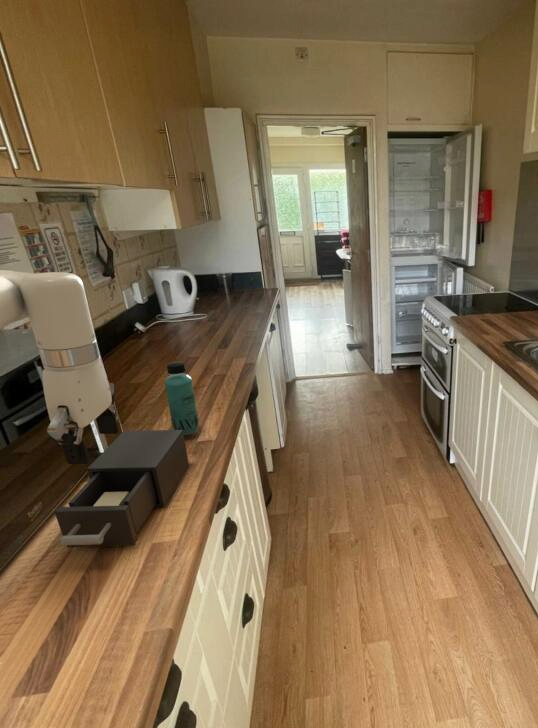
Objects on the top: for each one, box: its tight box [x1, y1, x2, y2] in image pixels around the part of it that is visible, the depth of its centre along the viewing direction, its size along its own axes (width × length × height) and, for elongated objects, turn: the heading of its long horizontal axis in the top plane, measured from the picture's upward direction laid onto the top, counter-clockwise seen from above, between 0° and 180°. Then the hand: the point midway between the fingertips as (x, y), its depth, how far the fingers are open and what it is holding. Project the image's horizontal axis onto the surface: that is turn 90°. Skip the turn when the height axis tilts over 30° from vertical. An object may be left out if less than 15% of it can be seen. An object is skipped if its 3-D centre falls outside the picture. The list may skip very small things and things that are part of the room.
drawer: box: [54, 471, 158, 548], centre depth 78 cm, size 18×11×8 cm, turn 4°
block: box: [93, 492, 129, 506], centre depth 79 cm, size 4×4×4 cm
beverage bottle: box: [164, 361, 200, 436], centre depth 108 cm, size 6×7×20 cm
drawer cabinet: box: [86, 429, 190, 508], centre depth 90 cm, size 15×13×10 cm
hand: (95, 447), depth 74 cm, fingers open, 9 cm apart
